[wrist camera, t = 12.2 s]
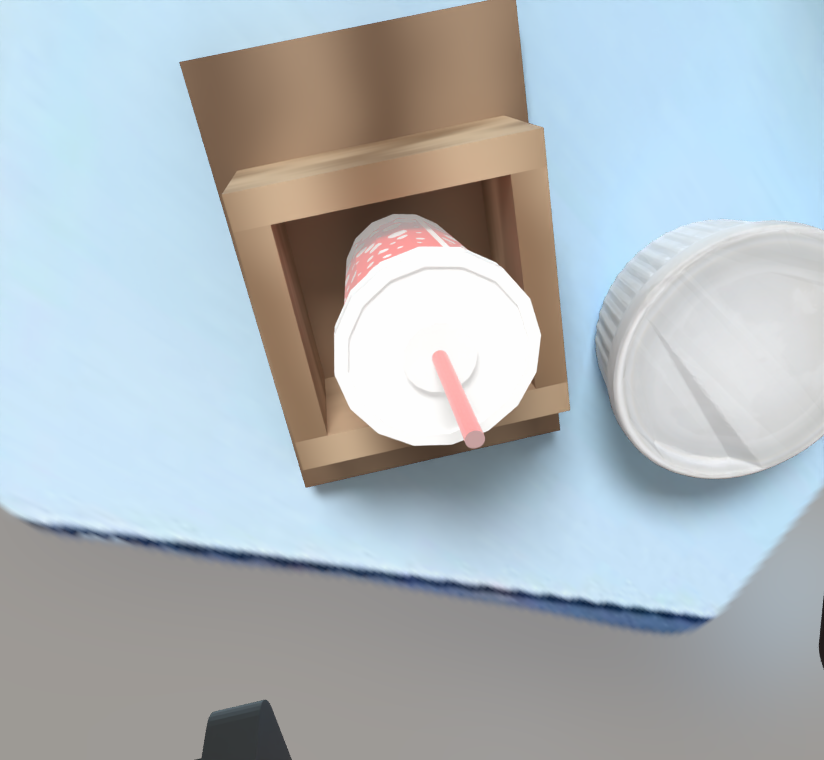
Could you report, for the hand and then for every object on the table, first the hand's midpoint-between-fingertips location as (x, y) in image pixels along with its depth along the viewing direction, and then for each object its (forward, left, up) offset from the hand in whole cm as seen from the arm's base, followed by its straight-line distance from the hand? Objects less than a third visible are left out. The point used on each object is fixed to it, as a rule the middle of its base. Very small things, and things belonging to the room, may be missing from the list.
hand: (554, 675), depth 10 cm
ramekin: (-13, +6, -23) cm, 27 cm away
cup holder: (0, 0, -22) cm, 22 cm away
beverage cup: (0, 0, -21) cm, 21 cm away
